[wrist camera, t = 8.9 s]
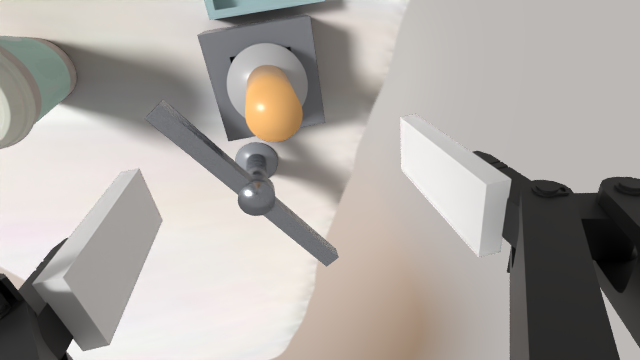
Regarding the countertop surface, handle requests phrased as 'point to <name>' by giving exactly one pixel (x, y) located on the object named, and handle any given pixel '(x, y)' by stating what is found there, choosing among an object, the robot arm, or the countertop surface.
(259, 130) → the tamper
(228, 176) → the grey lever handle
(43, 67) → the coffee cup
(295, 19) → the socket block
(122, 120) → the countertop surface
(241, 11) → the tray
